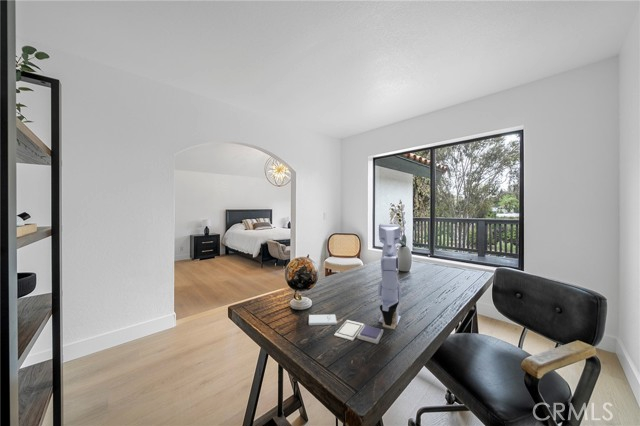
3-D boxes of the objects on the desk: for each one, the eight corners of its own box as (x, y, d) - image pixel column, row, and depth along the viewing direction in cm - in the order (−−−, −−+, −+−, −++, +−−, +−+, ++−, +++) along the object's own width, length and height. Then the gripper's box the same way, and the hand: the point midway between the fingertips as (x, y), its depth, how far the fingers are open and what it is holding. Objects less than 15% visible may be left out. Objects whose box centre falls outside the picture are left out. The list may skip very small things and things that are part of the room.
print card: (347, 320, 107) (347, 319, 107) (364, 324, 104) (364, 323, 104) (333, 335, 95) (333, 334, 95) (352, 340, 91) (352, 339, 91)
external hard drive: (308, 317, 112) (335, 317, 112) (308, 326, 103) (337, 325, 104) (308, 314, 112) (335, 313, 112) (308, 323, 103) (336, 322, 104)
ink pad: (364, 327, 101) (364, 323, 101) (383, 332, 97) (383, 328, 97) (357, 338, 93) (357, 333, 93) (377, 343, 89) (377, 339, 89)
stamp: (385, 322, 94) (385, 310, 94) (396, 325, 92) (396, 312, 92) (382, 327, 90) (382, 314, 90) (394, 330, 88) (394, 317, 88)
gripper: (383, 280, 99) (383, 312, 100) (374, 291, 86) (374, 328, 87) (401, 282, 96) (401, 315, 96) (393, 295, 83) (393, 333, 83)
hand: (389, 322), depth 91 cm, fingers closed on stamp, 4 cm apart
